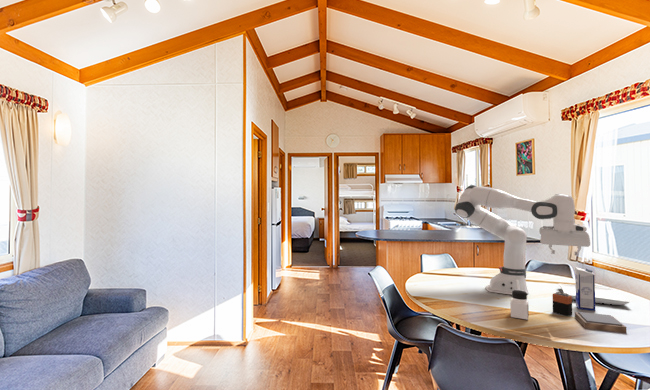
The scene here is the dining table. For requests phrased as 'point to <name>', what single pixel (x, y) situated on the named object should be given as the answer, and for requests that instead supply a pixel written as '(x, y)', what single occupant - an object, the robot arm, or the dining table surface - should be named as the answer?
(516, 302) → the medicine bottle
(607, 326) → the wooden square tray
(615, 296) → the square plate
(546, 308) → the dining table surface
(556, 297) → the battery
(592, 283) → the milk carton
